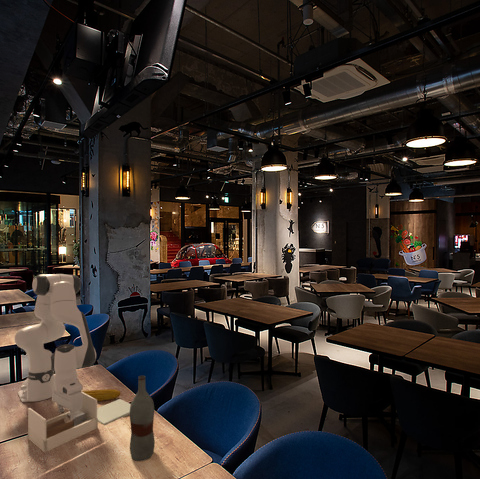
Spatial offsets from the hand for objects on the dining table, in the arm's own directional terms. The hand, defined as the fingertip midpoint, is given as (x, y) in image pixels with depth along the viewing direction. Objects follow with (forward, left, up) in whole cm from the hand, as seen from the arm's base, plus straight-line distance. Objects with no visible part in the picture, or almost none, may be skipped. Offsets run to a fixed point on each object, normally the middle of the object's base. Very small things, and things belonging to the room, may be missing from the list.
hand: (66, 416), depth 146 cm
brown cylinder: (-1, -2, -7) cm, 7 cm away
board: (-1, +22, -8) cm, 23 cm away
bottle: (+38, +11, -8) cm, 41 cm away
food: (-18, +25, -8) cm, 32 cm away
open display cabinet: (-1, -1, -8) cm, 8 cm away
